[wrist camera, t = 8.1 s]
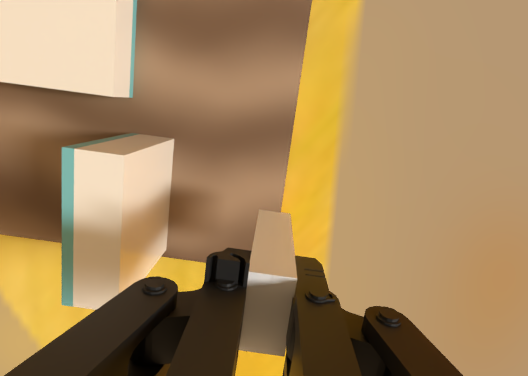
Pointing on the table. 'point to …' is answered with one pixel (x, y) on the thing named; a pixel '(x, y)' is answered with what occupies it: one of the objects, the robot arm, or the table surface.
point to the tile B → (113, 214)
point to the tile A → (69, 45)
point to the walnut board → (174, 121)
